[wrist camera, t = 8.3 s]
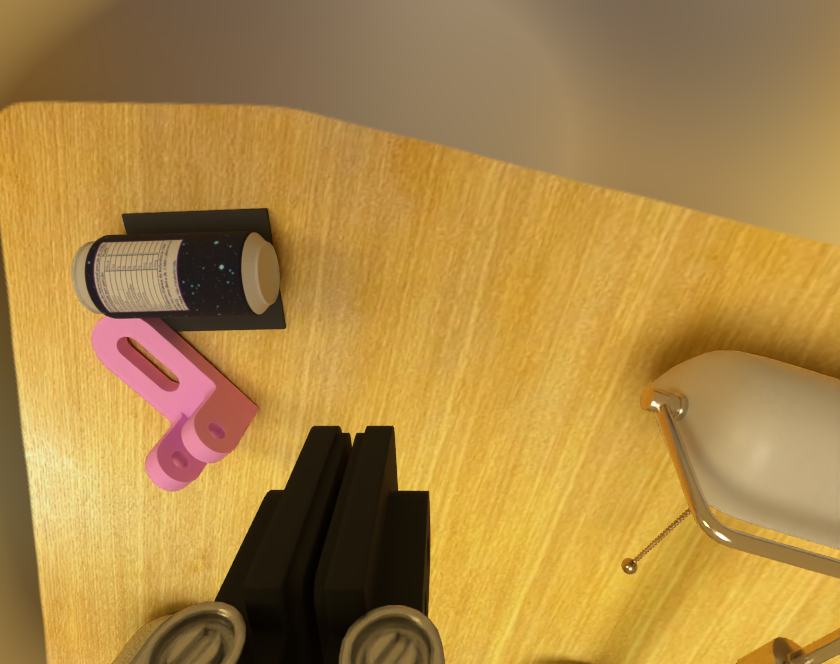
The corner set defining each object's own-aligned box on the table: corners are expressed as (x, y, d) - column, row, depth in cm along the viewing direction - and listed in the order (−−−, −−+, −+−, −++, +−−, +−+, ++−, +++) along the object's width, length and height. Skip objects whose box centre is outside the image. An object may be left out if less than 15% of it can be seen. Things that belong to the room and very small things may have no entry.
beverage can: (266, 212, 34) (92, 218, 35) (246, 271, 30) (52, 276, 31) (288, 275, 38) (133, 279, 39) (272, 333, 35) (101, 336, 35)
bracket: (259, 408, 42) (226, 463, 36) (215, 442, 44) (176, 500, 37) (131, 292, 38) (69, 330, 32) (88, 335, 40) (21, 379, 34)
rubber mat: (123, 213, 36) (121, 214, 36) (267, 208, 36) (265, 209, 35) (154, 330, 40) (152, 332, 40) (286, 327, 39) (284, 329, 39)
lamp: (682, 625, 61) (1011, 392, 36) (761, 910, 42) (1520, 824, 18) (467, 567, 59) (665, 280, 34) (455, 841, 41) (853, 642, 16)
